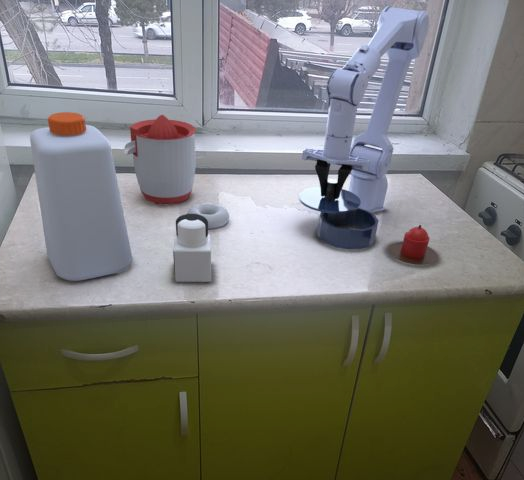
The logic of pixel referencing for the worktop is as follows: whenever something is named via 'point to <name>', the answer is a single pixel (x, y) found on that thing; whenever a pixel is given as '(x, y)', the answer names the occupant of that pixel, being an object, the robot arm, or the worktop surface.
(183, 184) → the citrus juicer
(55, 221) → the plastic bottle
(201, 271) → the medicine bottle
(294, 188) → the worktop surface
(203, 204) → the donut
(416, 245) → the red rubber stopper
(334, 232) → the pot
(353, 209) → the lid
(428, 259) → the coaster
